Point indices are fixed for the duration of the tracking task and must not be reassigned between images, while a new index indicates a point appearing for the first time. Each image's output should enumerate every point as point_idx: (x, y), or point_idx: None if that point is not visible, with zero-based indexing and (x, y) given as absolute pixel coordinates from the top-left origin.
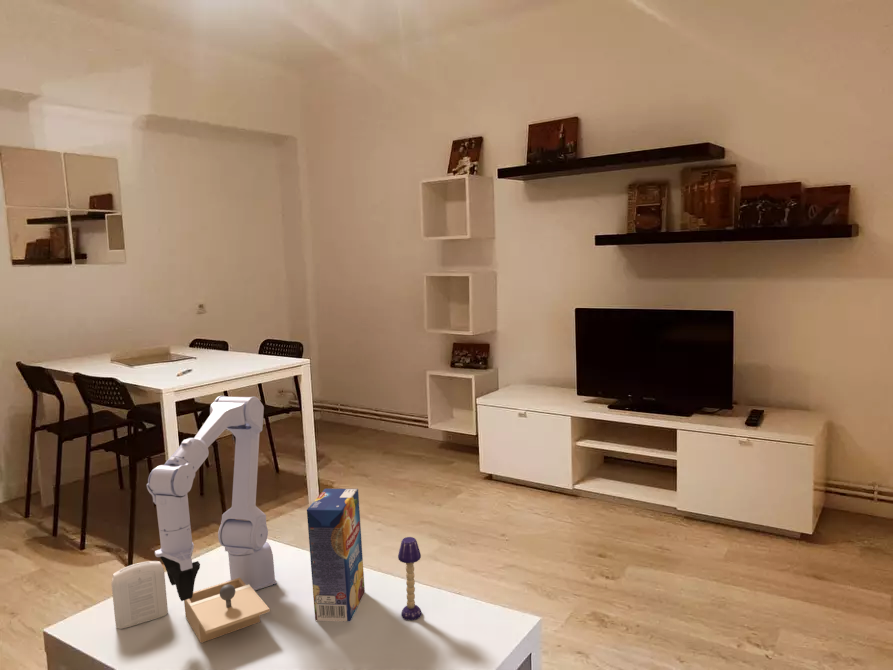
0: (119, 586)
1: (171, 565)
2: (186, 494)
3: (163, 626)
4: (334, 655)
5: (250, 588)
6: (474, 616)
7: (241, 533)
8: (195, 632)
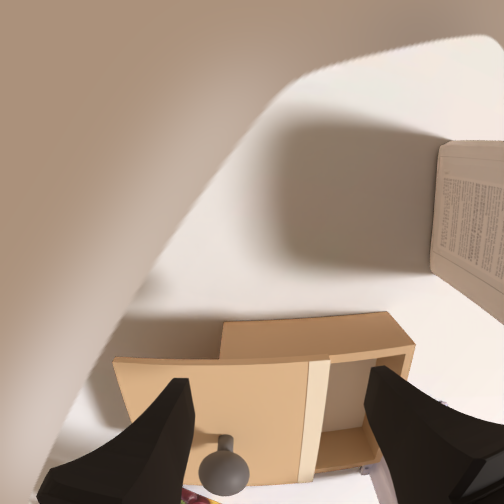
0: None
1: (412, 445)
2: None
3: (384, 251)
4: (67, 457)
5: (289, 481)
6: None
7: None
8: (281, 321)
